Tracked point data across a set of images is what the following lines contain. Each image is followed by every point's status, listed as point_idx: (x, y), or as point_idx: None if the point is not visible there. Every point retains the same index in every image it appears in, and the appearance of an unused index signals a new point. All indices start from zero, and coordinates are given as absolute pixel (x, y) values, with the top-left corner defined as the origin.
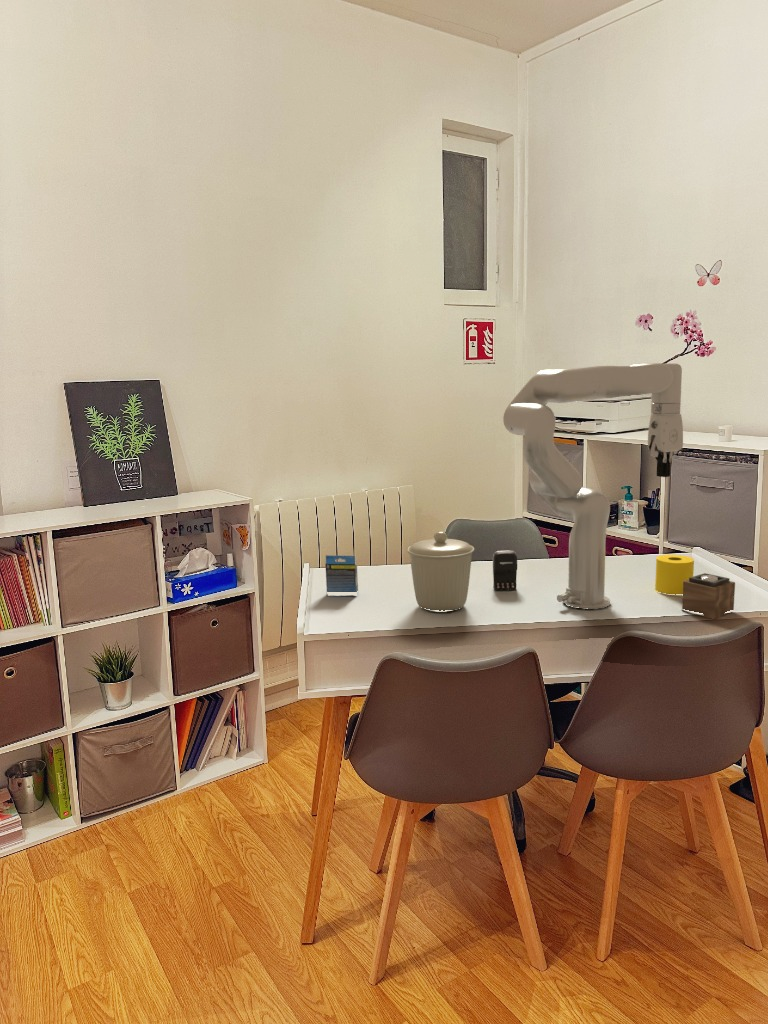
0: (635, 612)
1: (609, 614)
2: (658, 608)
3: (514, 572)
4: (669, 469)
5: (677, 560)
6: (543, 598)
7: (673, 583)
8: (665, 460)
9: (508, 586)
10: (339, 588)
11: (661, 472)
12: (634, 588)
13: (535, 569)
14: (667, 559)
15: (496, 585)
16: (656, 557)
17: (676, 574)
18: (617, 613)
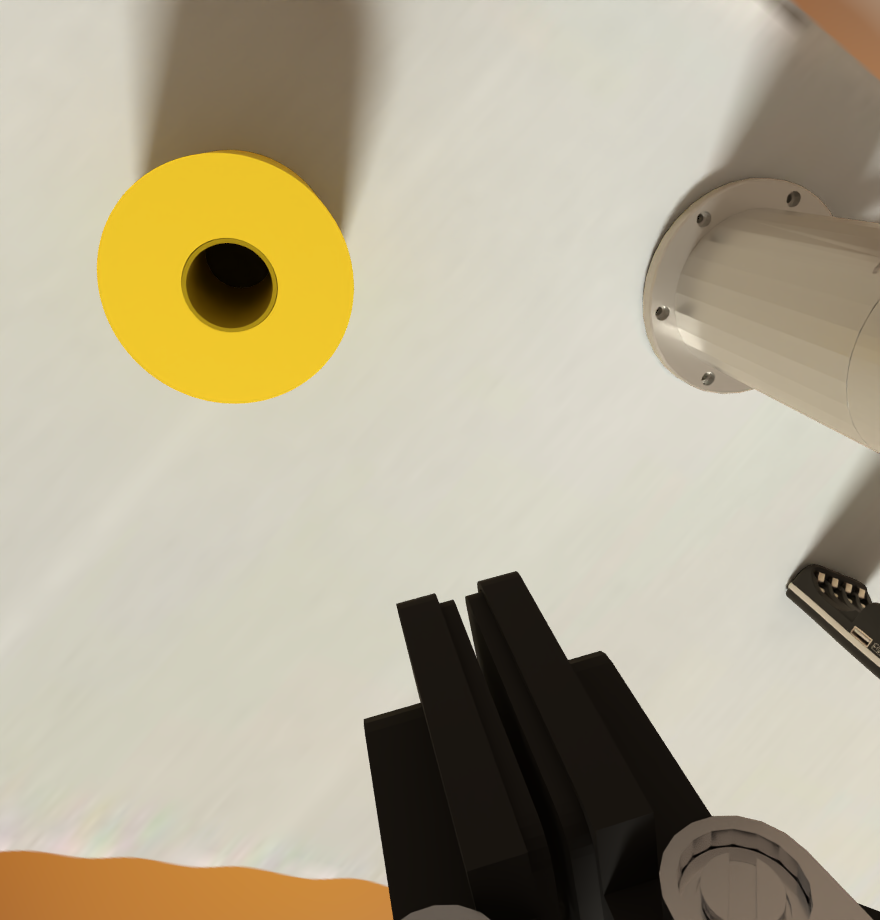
0: (672, 50)
1: (783, 95)
2: (535, 38)
3: (850, 613)
4: (451, 694)
5: (246, 240)
6: (807, 431)
7: (309, 187)
8: (730, 901)
9: (833, 582)
10: None
11: (612, 678)
12: (388, 384)
13: None
14: (288, 296)
15: (862, 603)
16: (315, 373)
17: (299, 179)
18: (746, 87)
